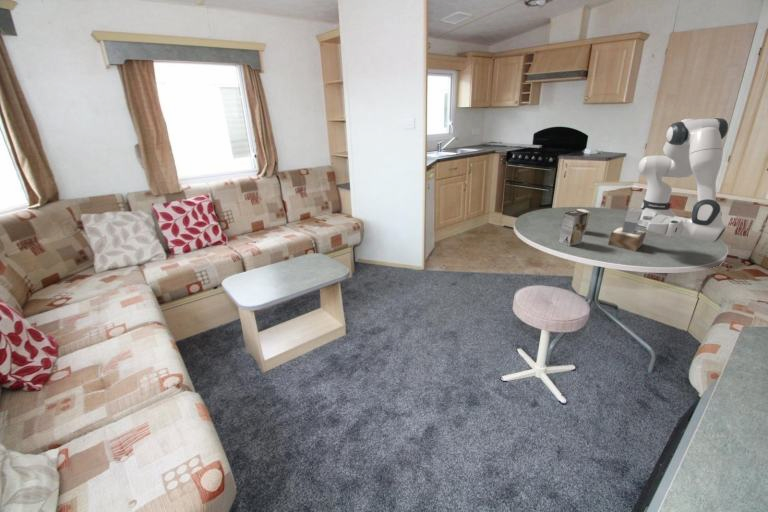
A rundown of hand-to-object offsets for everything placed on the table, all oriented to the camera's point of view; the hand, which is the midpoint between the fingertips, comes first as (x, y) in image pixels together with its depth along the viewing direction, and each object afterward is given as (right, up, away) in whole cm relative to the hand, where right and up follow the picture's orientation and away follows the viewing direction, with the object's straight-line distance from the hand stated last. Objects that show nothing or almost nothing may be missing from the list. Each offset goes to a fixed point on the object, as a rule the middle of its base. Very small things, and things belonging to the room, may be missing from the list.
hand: (640, 219), depth 174 cm
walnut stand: (-2, -12, +8) cm, 14 cm away
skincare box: (-16, -4, +26) cm, 31 cm away
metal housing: (-2, -6, +5) cm, 8 cm away
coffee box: (-29, -11, +10) cm, 33 cm away
